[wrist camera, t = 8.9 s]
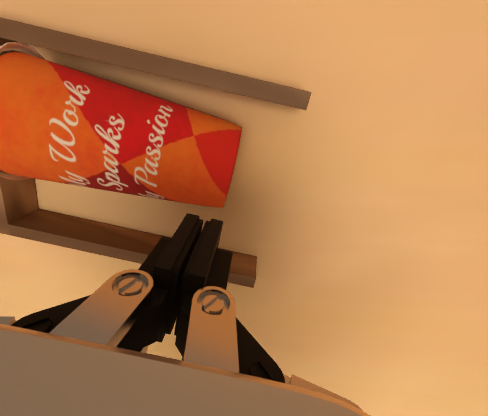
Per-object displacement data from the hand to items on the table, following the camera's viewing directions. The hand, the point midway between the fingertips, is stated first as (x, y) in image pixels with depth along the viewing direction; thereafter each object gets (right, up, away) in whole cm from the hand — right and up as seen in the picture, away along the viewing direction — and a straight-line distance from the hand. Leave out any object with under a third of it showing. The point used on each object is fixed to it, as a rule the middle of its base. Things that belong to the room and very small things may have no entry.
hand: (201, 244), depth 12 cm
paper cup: (+1, +4, +5) cm, 7 cm away
